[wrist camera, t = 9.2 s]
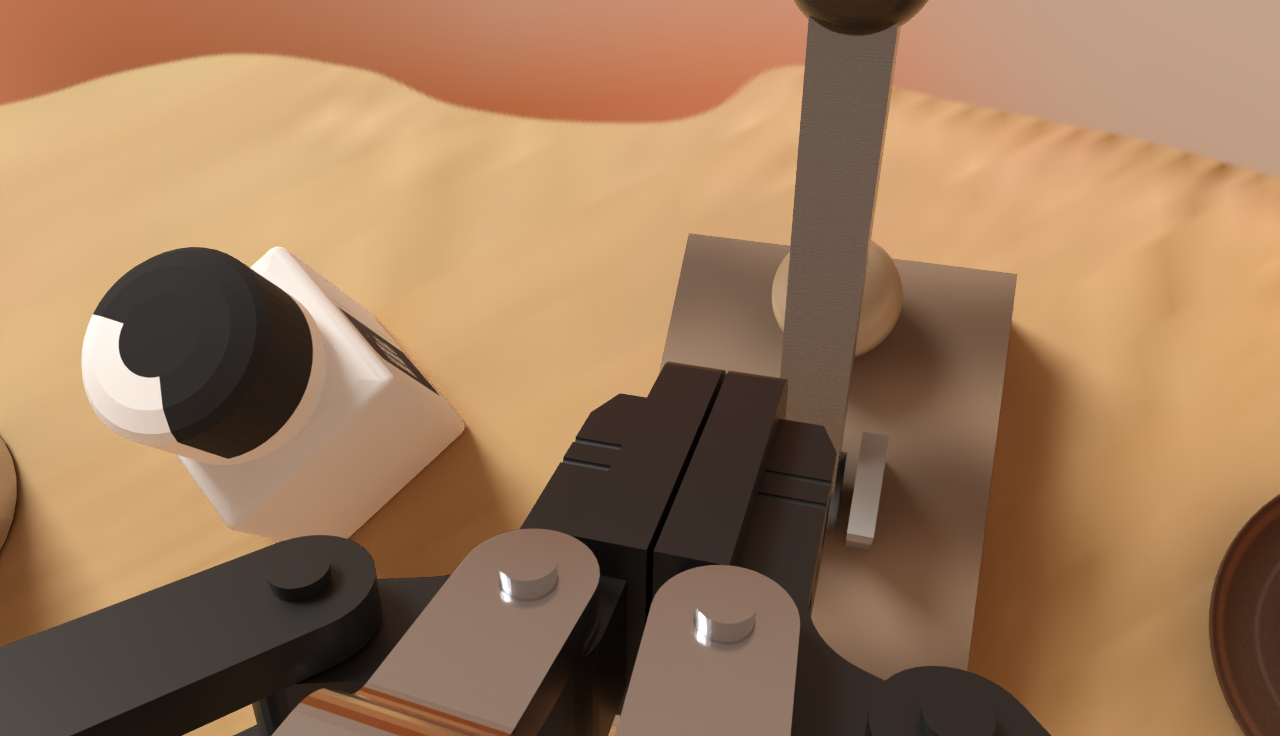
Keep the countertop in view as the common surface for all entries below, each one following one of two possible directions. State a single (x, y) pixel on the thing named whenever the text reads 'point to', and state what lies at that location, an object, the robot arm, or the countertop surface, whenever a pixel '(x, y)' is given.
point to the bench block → (880, 435)
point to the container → (263, 390)
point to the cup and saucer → (1250, 623)
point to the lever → (836, 204)
